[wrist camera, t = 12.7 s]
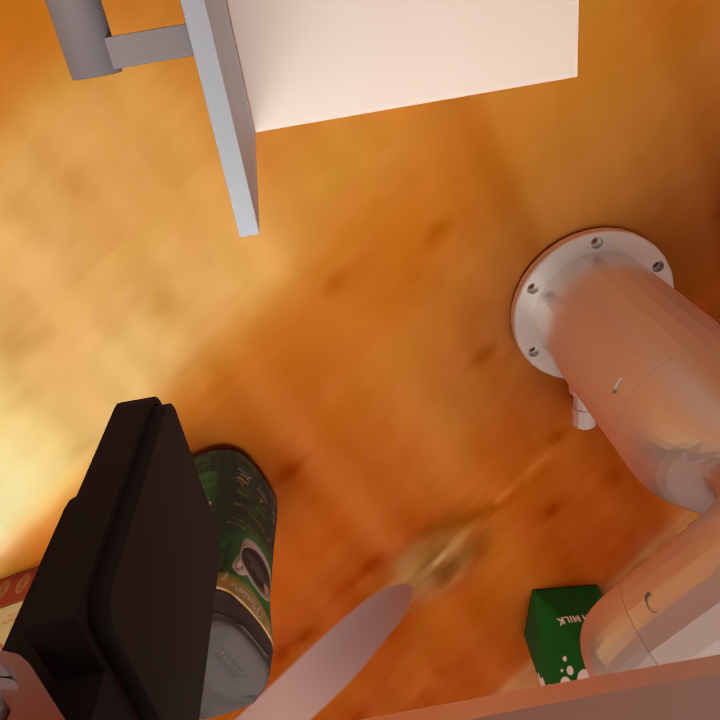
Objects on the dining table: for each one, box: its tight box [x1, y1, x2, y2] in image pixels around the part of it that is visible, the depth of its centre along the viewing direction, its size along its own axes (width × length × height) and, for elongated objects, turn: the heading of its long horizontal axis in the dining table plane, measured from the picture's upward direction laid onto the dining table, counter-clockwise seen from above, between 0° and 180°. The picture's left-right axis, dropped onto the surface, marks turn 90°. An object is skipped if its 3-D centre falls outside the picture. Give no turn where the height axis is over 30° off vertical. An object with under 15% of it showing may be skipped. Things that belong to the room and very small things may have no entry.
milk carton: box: [524, 585, 603, 686], centre depth 60 cm, size 9×9×20 cm
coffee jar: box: [192, 449, 277, 719], centre depth 48 cm, size 10×8×19 cm
